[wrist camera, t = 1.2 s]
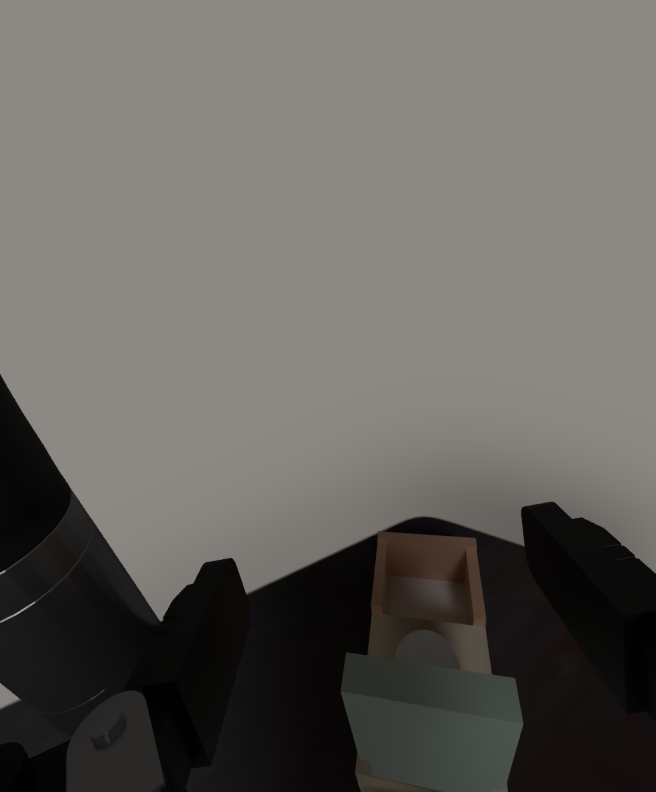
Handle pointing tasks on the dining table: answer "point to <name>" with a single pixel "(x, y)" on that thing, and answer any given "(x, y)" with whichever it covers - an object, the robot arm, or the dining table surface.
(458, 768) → the green rectangular slab
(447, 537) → the cup
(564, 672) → the dining table surface
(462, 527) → the dining table surface
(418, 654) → the ball
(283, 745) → the dining table surface
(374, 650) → the beige open box
